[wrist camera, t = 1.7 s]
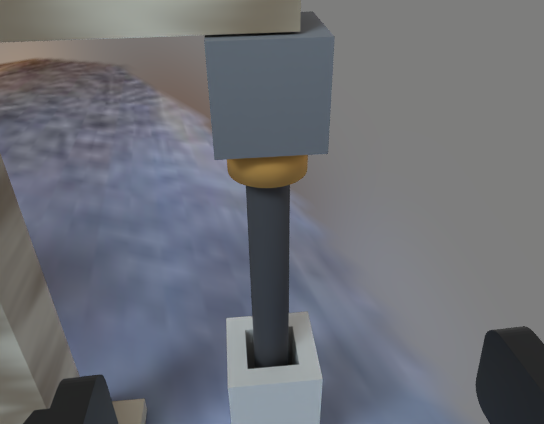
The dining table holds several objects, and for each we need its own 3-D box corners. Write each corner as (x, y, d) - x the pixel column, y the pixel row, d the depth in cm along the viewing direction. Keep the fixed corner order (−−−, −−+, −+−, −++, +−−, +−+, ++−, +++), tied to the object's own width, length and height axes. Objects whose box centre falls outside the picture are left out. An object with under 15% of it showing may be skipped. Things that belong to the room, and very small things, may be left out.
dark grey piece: (241, 471, 28) (204, 41, 15) (239, 410, 31) (206, 15, 18) (310, 464, 28) (334, 36, 15) (300, 404, 31) (312, 11, 18)
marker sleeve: (234, 457, 26) (227, 387, 23) (232, 386, 30) (226, 318, 27) (317, 449, 27) (322, 379, 23) (305, 380, 30) (307, 311, 27)
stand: (-44, 573, 26) (-561, -26, 10) (15, 421, 33) (-228, -58, 17) (298, 534, 27) (320, -47, 11) (280, 396, 35) (278, -69, 19)
